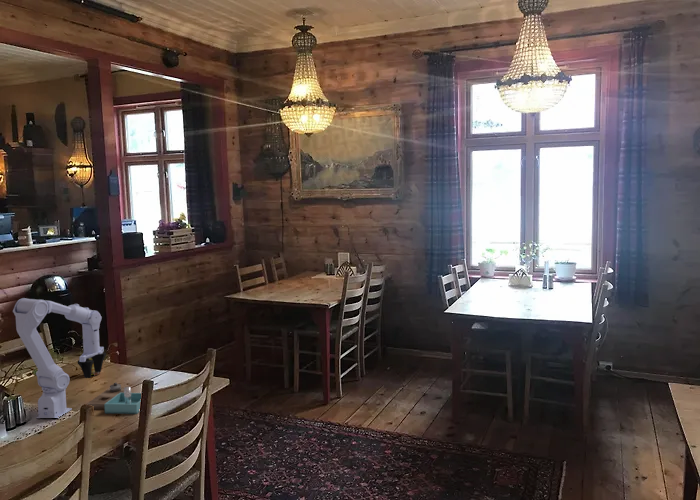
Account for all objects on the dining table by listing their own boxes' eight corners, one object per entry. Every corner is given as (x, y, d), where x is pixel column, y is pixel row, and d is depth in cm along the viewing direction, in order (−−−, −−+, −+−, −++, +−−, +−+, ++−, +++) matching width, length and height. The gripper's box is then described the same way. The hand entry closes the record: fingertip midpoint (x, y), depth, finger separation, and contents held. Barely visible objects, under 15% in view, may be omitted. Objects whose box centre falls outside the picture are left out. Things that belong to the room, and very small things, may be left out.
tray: (136, 413, 206) (136, 404, 205) (104, 413, 206) (104, 404, 206) (150, 401, 217) (150, 393, 217) (120, 401, 218) (120, 392, 218)
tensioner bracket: (107, 409, 210) (106, 396, 210) (86, 408, 211) (86, 395, 211) (129, 392, 228) (129, 380, 228) (110, 392, 229) (109, 380, 228)
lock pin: (129, 407, 211) (128, 388, 210) (123, 407, 211) (122, 388, 210) (132, 404, 213) (132, 386, 212) (126, 404, 213) (125, 386, 213)
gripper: (91, 345, 212) (93, 380, 214) (110, 336, 227) (112, 369, 228) (73, 345, 213) (75, 380, 214) (93, 335, 227) (95, 369, 229)
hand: (93, 374), depth 221 cm, fingers open, 7 cm apart
